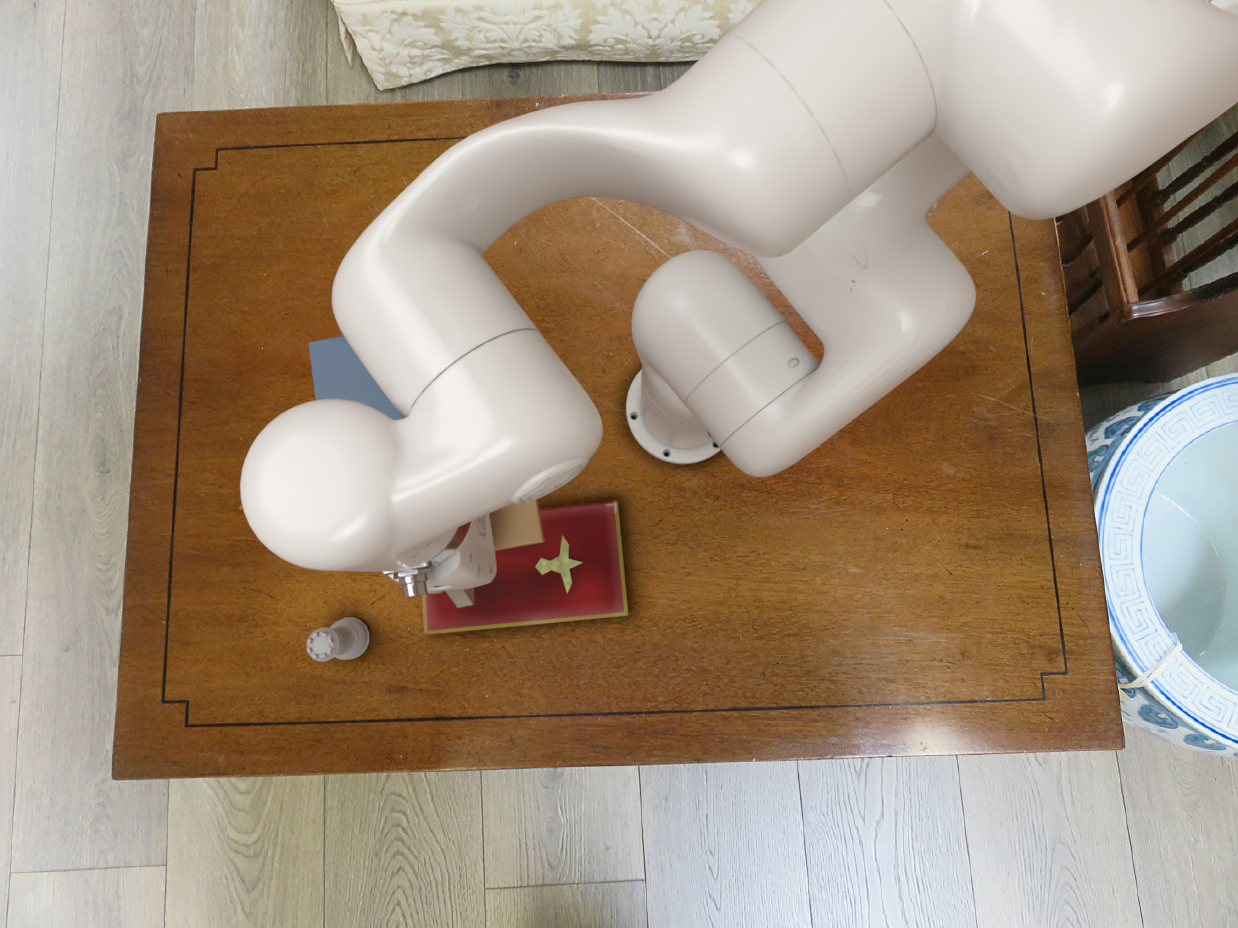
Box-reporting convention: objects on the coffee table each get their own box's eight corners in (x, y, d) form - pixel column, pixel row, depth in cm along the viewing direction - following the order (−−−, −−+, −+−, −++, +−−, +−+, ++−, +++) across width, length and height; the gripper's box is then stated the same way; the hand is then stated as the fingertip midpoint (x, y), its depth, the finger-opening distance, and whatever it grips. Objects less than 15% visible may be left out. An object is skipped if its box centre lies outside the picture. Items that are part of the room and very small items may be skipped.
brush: (538, 494, 64) (523, 480, 55) (547, 543, 64) (533, 537, 54) (416, 517, 64) (380, 507, 55) (423, 566, 63) (388, 564, 54)
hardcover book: (428, 520, 80) (416, 517, 76) (618, 502, 80) (617, 498, 75) (434, 631, 78) (423, 635, 74) (628, 613, 78) (628, 615, 74)
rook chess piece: (355, 667, 78) (324, 678, 70) (321, 644, 78) (286, 652, 70) (379, 631, 78) (350, 638, 70) (345, 608, 78) (313, 613, 71)
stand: (524, 385, 82) (480, 310, 58) (535, 454, 81) (496, 405, 57) (401, 408, 82) (307, 342, 58) (411, 477, 80) (320, 438, 57)
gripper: (491, 634, 41) (533, 615, 59) (449, 362, 43) (501, 425, 61) (359, 659, 40) (442, 633, 59) (324, 384, 43) (414, 441, 61)
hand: (472, 526), depth 60 cm, fingers closed on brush, 2 cm apart
